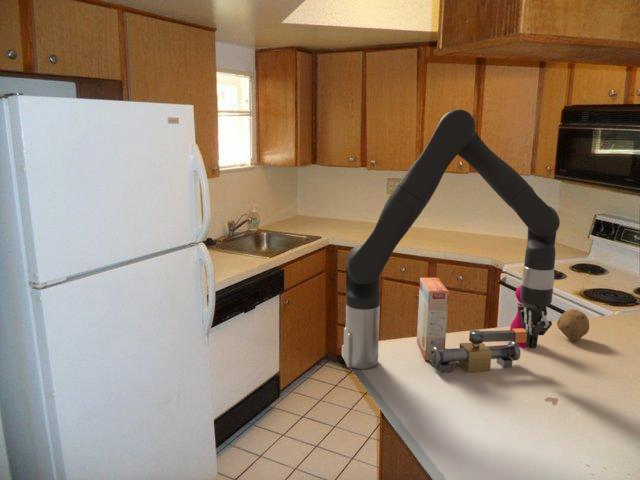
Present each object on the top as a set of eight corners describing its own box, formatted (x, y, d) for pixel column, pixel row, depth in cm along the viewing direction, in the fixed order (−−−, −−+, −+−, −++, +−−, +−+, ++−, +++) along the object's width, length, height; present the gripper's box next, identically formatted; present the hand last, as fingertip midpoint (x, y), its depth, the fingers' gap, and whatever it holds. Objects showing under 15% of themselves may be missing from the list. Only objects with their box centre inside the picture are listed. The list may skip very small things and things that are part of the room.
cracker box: (445, 361, 144) (449, 291, 140) (424, 361, 144) (427, 290, 140) (435, 341, 158) (439, 276, 153) (416, 341, 158) (419, 276, 153)
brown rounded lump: (549, 338, 160) (553, 308, 158) (564, 331, 166) (567, 302, 164) (578, 348, 153) (582, 316, 151) (592, 340, 159) (596, 310, 157)
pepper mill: (508, 345, 155) (513, 282, 151) (509, 337, 161) (514, 276, 157) (533, 349, 152) (540, 285, 148) (534, 340, 159) (540, 279, 154)
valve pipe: (437, 375, 136) (438, 349, 134) (428, 365, 142) (430, 340, 140) (519, 368, 140) (522, 343, 138) (508, 359, 146) (510, 335, 144)
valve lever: (471, 344, 137) (472, 334, 137) (467, 339, 141) (467, 329, 140) (527, 343, 138) (528, 332, 138) (521, 337, 142) (522, 327, 141)
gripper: (566, 291, 124) (558, 357, 128) (537, 276, 137) (531, 336, 141) (537, 292, 123) (530, 358, 127) (510, 277, 136) (505, 337, 140)
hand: (531, 347), depth 134 cm, fingers closed
